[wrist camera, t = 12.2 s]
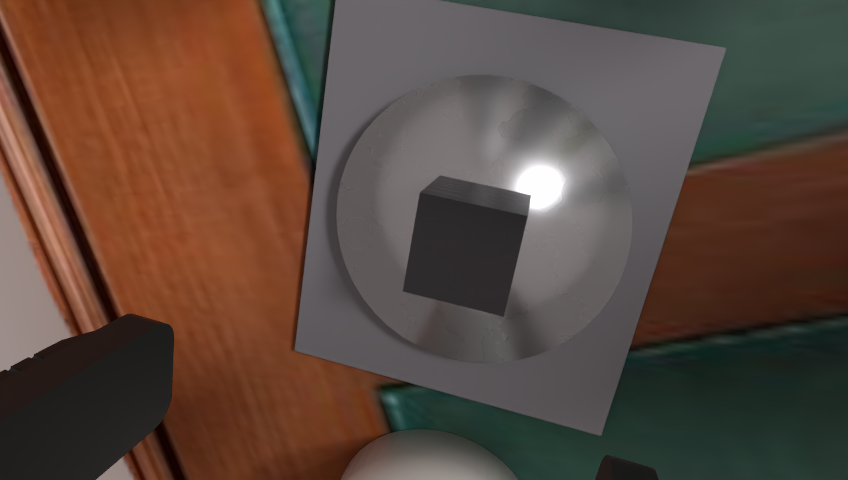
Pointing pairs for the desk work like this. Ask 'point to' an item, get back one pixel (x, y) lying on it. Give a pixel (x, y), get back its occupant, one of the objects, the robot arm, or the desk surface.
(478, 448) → the dish
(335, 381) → the desk surface
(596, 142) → the lid
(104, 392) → the robot arm
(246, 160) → the desk surface
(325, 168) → the mat
